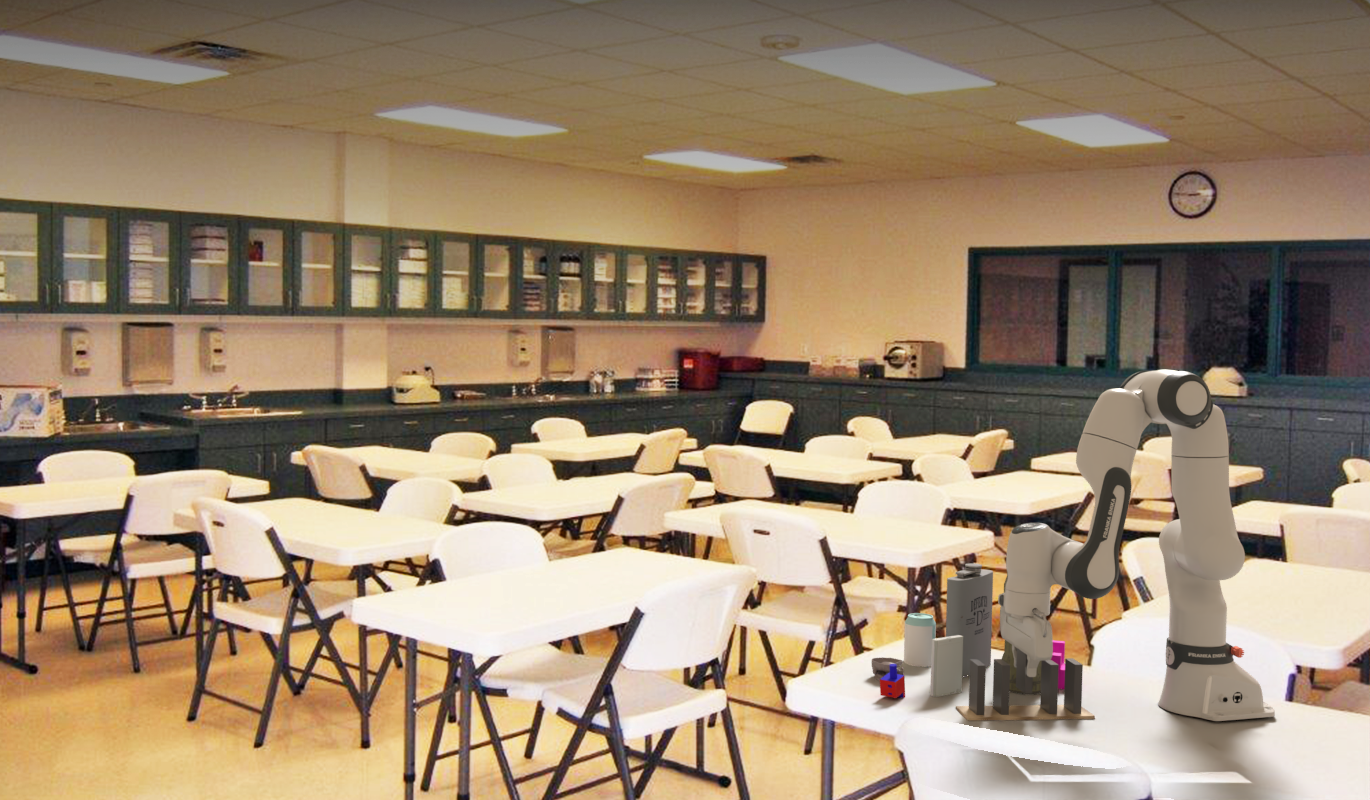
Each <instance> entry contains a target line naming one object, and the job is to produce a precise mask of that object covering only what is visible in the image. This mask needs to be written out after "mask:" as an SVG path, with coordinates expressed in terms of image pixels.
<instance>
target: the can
mask: <svg viewBox="0 0 1370 800" xmlns="http://www.w3.org/2000/svg"><path fill="white" fill-rule="evenodd" d="M936 627H937V623H936V621H935V619H934V615H932V614H929V613H922V612H921V613H919V612H914V613H909V614H908V615H907V618H906V620H904V636H903V637H904V639H903V640H904V643H903V645H904V648H903V662H904V664H907V665H909V666H915V667H920V666H922V667H923V666H924V668H926V667H925V666H928V667H931V655H932V639H936V638H937V637H936V634H937V632H936V631H937V628H936Z"/></svg>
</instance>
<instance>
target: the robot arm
mask: <svg viewBox="0 0 1370 800" xmlns="http://www.w3.org/2000/svg"><path fill="white" fill-rule="evenodd" d="M1211 395H1212V393H1211V390H1210V388H1209V387H1208V384H1207V383H1206V382H1205V380H1204V379H1203V378H1201V376H1199V375H1197V374H1195V373H1192V372H1189V371H1187V370H1186V371H1185V370H1179V371H1178V370H1176V369H1175V370H1174V369H1165V368H1164V369H1157V370H1140V371H1137V372H1135V373H1133V374H1131V375H1129V376H1128V377H1127V378H1125V380H1124V381H1123V382H1122V383H1121V385H1120V386H1119V388H1109V389H1106V390H1105V391H1104V392H1102V393H1101V394H1100V395H1099V397H1098V398H1097V400H1096V402H1095V404H1094V406H1093V407H1092V410H1091V411H1090V413H1089V416H1088V417H1087V420H1086V422H1085V425H1084V427H1083V431H1082V433H1081V436H1080V440H1079V442H1078V446H1077V449H1076V458H1075V459H1076V460H1075V464H1076V467H1077V469H1078V471H1079V473H1080V474H1081V476H1082V478H1084V480H1085V481H1086V482H1087V483H1088V485H1089V486H1090V488H1091V490H1092V491H1093V495H1094V506H1093V507H1094V508H1093V512H1092V516H1091V520H1090V525H1089V529H1088V533H1087V538H1086V540H1085V541H1084V543H1083V542H1081V541H1077V540H1074V539H1071V538H1069V537H1067V536H1064V535H1062V534H1061V533H1059V532H1057V531H1055V530H1053V529H1052V528H1051V527H1050V526H1049V525H1048V524H1046V523H1042V522H1026V523H1022V524H1019V525H1017V526H1015V527H1013V528H1012V529H1013V530H1011V532H1010V533H1009V535H1008V540H1007V547H1006V557H1005V566H1006V567H1005V568H1006V574H1007V573H1008V579H1007V583H1006V586H1005V592H1004V591H1003V593H1000V594H998V596H997V597H998V601H997V602H998V605H999V606H1000V608H999V629H1000V631H999V632H1000V635H1001V638H1002V640H1004V641H1005V640H1006V641H1007V642H1009V643H1010V644H1012V652H1013V656H1014V666H1015V667H1017V648H1018V649H1019V650H1021V651H1022V652H1024V653H1025V654H1027V660H1028V663H1027V666H1025V674H1026V675H1027V676H1029V677H1035V676H1036V671H1037V667H1038V664H1039V661H1046V660H1051V658H1052V655H1053V640H1054V639H1053V627H1052V624H1051V622H1050V621H1049V620H1047V616H1049V615H1050V613H1051V589H1052V586H1054V585H1058V586H1060V587H1062V588H1064V589H1066V590H1069V591H1072V592H1074V593H1075V594H1077V595H1079V596H1081V597H1082V598H1085V599H1088V600H1096V599H1100V598H1103V597H1105V596H1106V595H1108V594H1109V593H1110V592H1111V591H1112V590H1113V589H1114V587H1115V586H1116V584H1117V582H1118V580H1119V575H1120V558H1119V557H1120V554H1119V553H1120V545H1121V542H1122V539H1123V538H1122V537H1123V533H1124V529H1125V525H1126V524H1125V523H1126V520H1127V515H1128V512H1129V506H1130V501H1131V494H1132V470H1133V464H1134V461H1135V456H1136V453H1137V450H1138V448H1139V445H1140V441H1141V437H1142V434H1143V432H1144V430H1145V429H1146V428H1147V427H1148V426H1149V425H1150V424H1151V423H1152V424H1157V425H1167V427H1168V429H1169V431H1170V435H1171V457H1170V458H1171V495H1172V497H1173V499H1174V502H1175V505H1176V509H1177V513H1178V519H1174V520H1172V521H1170V522H1168V523H1167V524H1165V525H1164V526H1163V527H1162V529H1161V532H1160V534H1159V536H1158V545H1159V548H1160V552H1161V554H1162V556H1163V562H1164V563H1163V564H1164V572H1165V577H1166V578H1165V579H1166V585H1167V590H1168V600H1169V614H1168V615H1169V618H1168V619H1169V621H1168V622H1169V625H1168V626H1169V627H1168V637H1166V645H1165V648H1166V649H1165V665H1166V668H1165V669H1166V671H1165V675H1164V676H1165V677H1164V682H1163V688H1162V690H1161V693H1160V697H1159V699H1158V702H1157V704H1158V706H1159V707H1160V708H1161V709H1163V710H1165V711H1168V712H1171V713H1174V714H1179V715H1182V716H1188V717H1194V718H1200V719H1204V720H1208V721H1212V722H1222V721H1223V722H1224V721H1236V720H1237V721H1238V720H1248V719H1259V718H1262V719H1263V718H1271V717H1275V716H1276V713H1275V708H1273V707H1272V706H1271V705H1270V704H1268V703H1266V702H1264V696H1263V695H1264V694H1263V691H1262V690H1263V689H1262V687H1261V683H1259V681H1258V680H1257V679H1256V678H1255V677H1254V676H1252V675H1251V674H1250V673H1249V672H1248V671H1246V670H1245V669H1244V668H1243V667H1242V666H1240V665H1239V664H1238V663H1236V661H1235V660H1234V656H1235V657H1237V658H1239V659H1240V658H1243V656H1244V655H1245V650H1244V649H1243V648H1241V647H1239V646H1237V645H1235V646H1233V645H1231V644H1230V643H1228V642H1227V622H1228V621H1227V619H1228V617H1227V614H1228V607H1227V602H1226V599H1225V598H1224V593H1223V591H1222V587H1221V581H1226V580H1230V579H1231V578H1233V577H1235V576H1236V575H1238V573H1240V571H1241V570H1242V569H1243V566H1244V564H1245V560H1246V553H1245V552H1246V551H1245V549H1244V546H1243V544H1242V543H1241V540H1240V539H1239V535H1238V531H1237V526H1236V521H1235V516H1234V512H1233V505H1232V501H1231V494H1230V493H1231V492H1230V456H1229V455H1230V453H1229V451H1230V449H1229V448H1230V446H1229V437H1228V429H1227V423H1226V418H1225V415H1224V412H1223V410H1222V409H1221V408H1220V407H1219V406H1218V405H1215V403H1214V402H1213V399H1212V396H1211Z"/></svg>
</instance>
